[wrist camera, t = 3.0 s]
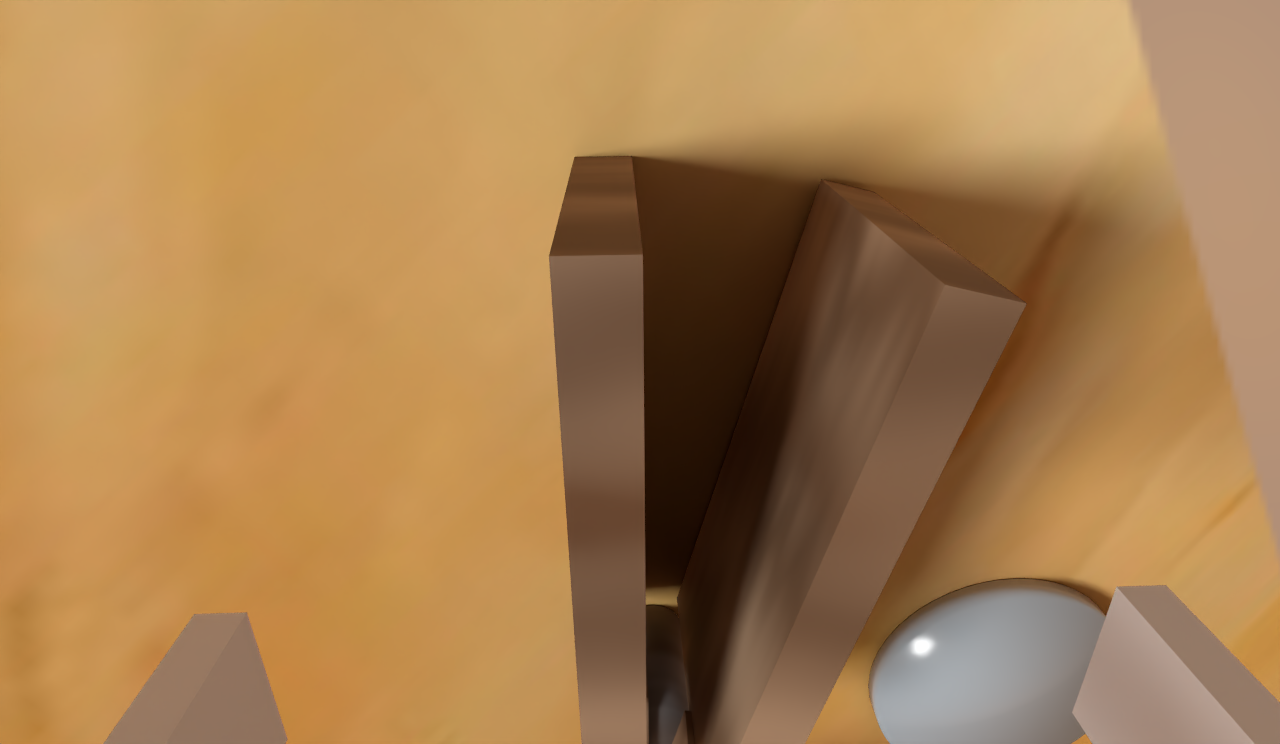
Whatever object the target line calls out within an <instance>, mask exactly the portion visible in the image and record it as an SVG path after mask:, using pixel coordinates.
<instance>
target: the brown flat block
mask: <svg viewBox="0 0 1280 744" xmlns="http://www.w3.org/2000/svg"><path fill="white" fill-rule="evenodd" d="M549 262H550V277H551V292H552V307H553V322H554V337H555V352H556V367H557V381H558V396H559V411H560V426H561V441H562V456H563V471H564V486H565V500H566V515H567V530H568V545H569V560H570V575H571V590H572V605H573V620H574V634H575V649H576V664H577V679H578V694H579V709H580V724H581V739H582V744H672V742H673V740H674V737H675V735H676V732H677V729H678V727H679V724H680V722H681V719H682V716H683V714H684V711H685V710H687V711H689V707H688V697H687V688H686V678H685V669H684V659H683V650H682V641H681V631H680V622H679V617H678V616H677V615H676V613H674V612H673V611H672V610H670V609H668V608H665V607H662V606H657V605H647V606H646V598H645V466H644V335H643V251H642V242H641V234H640V225H639V216H638V207H637V198H636V189H635V181H634V172H633V163H632V156H614V157H574V161H573V165H572V169H571V173H570V177H569V181H568V185H567V189H566V192H565V196H564V200H563V204H562V208H561V212H560V216H559V220H558V224H557V227H556V231H555V235H554V239H553V243H552V247H551V251H550V255H549Z"/></svg>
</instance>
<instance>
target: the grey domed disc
mask: <svg viewBox="0 0 1280 744" xmlns="http://www.w3.org/2000/svg"><path fill="white" fill-rule="evenodd" d="M1105 618H1106V616H1105V614H1104V613H1103V612H1102V611H1101V609H1100V608H1099V607H1098V606H1097V605H1096V604H1095V603H1094V602H1093V601H1092V600H1090V599H1089V598H1088V597H1087V596H1085V595H1083V594H1082V593H1080V592H1078V591H1077V590H1074V589H1072V588H1070V587H1067V586H1065V585H1062V584H1058V583H1054V582H1050V581H1044V580H1036V579H1005V580H996V581H990V582H985V583H980V584H976V585H973V586H969V587H965V588H963V589H960V590H957V591H955V592H952V593H949V594H947V595H945V596H943V597H941V598H939V599H937V600H934V601H932V602H931V603H929V604H928V605H926V606H924V607H923V608H921V609H919V610H918V611H916V612H915V613H914V614H912V615H911V616H910V617H908V618H907V619H906V620H905V621H904V622H903V623H901V624H900V625H899V626H898V627H897V628H896V629H895V630H894V631H893V632H892V634H891V635H890V636H889V637H888V638H887V639H886V641H885V642H884V644H883V645H882V647H881V648H880V650H879V651H878V653H877V655H876V657H875V660H874V662H873V664H872V668H871V671H870V675H869V685H868V688H869V697H870V701H871V704H872V707H873V710H874V713H875V715H876V718H877V721H878V724H879V726H880V729H881V730H882V732H883V734H884V736H885V738H886V739H887V740H888V741H889V743H890V744H1071V743H1072V742H1074V741H1076V740H1077V739H1079V738H1080V737H1081V736H1083V735H1084V734H1085V732H1084V730H1083V729H1082V727H1081V726H1080V724H1079V722H1078V721H1077V719H1076V718H1075V716H1074V715H1073V713H1072V711H1073V708H1074V706H1075V703H1076V700H1077V697H1078V694H1079V691H1080V689H1081V686H1082V683H1083V680H1084V677H1085V674H1086V672H1087V669H1088V666H1089V663H1090V660H1091V658H1092V655H1093V652H1094V649H1095V646H1096V643H1097V641H1098V638H1099V635H1100V632H1101V629H1102V627H1103V624H1104V621H1105Z"/></svg>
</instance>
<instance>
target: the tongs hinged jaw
mask: <svg viewBox="0 0 1280 744" xmlns="http://www.w3.org/2000/svg"><path fill="white" fill-rule="evenodd" d="M1026 304H1027V303H1025V302H1024V301H1023V300H1021V299H1020V298H1018V297H1017V296H1016V295H1014V294H1013V293H1012V292H1010V291H1009V290H1008V289H1006V288H1005V287H1003V286H1002V285H1001V284H999V283H998V282H997V281H995V280H994V279H992V278H991V277H990V276H988V275H987V274H986V273H984V272H983V271H981V270H980V269H979V268H977V267H976V266H975V265H973V264H972V263H971V262H969V261H968V260H966V259H965V258H964V257H962V256H961V255H960V254H958V253H957V252H955V251H954V250H953V249H951V248H950V247H949V246H947V245H946V244H945V243H943V242H942V241H940V240H939V239H938V238H936V237H935V236H934V235H932V234H931V233H929V232H928V231H927V230H925V229H924V228H923V227H921V226H920V225H918V224H917V223H916V222H914V221H913V220H912V219H910V218H909V217H908V216H906V215H905V214H903V213H902V212H901V211H899V210H898V209H897V208H895V207H894V206H892V205H891V204H890V203H888V202H887V201H886V200H884V199H883V198H881V197H880V196H879V195H877V194H876V193H875V192H872V191H868V190H864V189H860V188H856V187H851V186H847V185H843V184H839V183H835V182H831V181H827V180H823V179H821V181H820V184H819V187H818V190H817V193H816V196H815V199H814V202H813V205H812V207H811V210H810V213H809V216H808V219H807V222H806V225H805V228H804V231H803V234H802V236H801V239H800V242H799V245H798V248H797V251H796V254H795V257H794V260H793V263H792V265H791V268H790V271H789V274H788V277H787V280H786V283H785V286H784V289H783V292H782V295H781V297H780V300H779V303H778V306H777V309H776V312H775V315H774V318H773V321H772V324H771V326H770V329H769V332H768V335H767V338H766V341H765V344H764V347H763V350H762V353H761V355H760V358H759V361H758V364H757V367H756V370H755V373H754V376H753V379H752V382H751V385H750V387H749V390H748V393H747V396H746V399H745V402H744V405H743V408H742V411H741V414H740V416H739V419H738V422H737V425H736V428H735V431H734V434H733V437H732V440H731V443H730V446H729V448H728V451H727V454H726V457H725V460H724V463H723V466H722V469H721V472H720V475H719V477H718V480H717V483H716V486H715V489H714V492H713V495H712V498H711V501H710V504H709V506H708V509H707V512H706V515H705V518H704V521H703V524H702V527H701V530H700V533H699V536H698V538H697V541H696V544H695V547H694V550H693V553H692V556H691V559H690V562H689V565H688V567H687V570H686V573H685V576H684V579H683V582H682V585H681V588H680V591H679V594H678V597H677V603H678V612H679V622H680V631H681V641H682V650H683V659H684V669H685V678H686V688H687V697H688V707H689V711H687V710H685V711H684V714H683V716H682V719H681V722H680V724H679V727H678V729H677V732H676V735H675V737H674V740H673V742H672V744H805V743H806V741H807V739H808V737H809V735H810V733H811V731H812V729H813V727H814V725H815V723H816V721H817V719H818V717H819V715H820V713H821V711H822V709H823V707H824V705H825V703H826V701H827V699H828V697H829V695H830V693H831V691H832V689H833V687H834V685H835V683H836V681H837V679H838V677H839V675H840V673H841V671H842V669H843V667H844V665H845V663H846V661H847V659H848V657H849V655H850V653H851V651H852V649H853V647H854V645H855V643H856V641H857V639H858V637H859V635H860V633H861V631H862V630H863V628H864V626H865V624H866V622H867V620H868V618H869V616H870V614H871V612H872V610H873V608H874V606H875V604H876V602H877V600H878V598H879V596H880V594H881V592H882V590H883V588H884V586H885V584H886V582H887V580H888V578H889V576H890V574H891V572H892V570H893V568H894V566H895V564H896V562H897V560H898V558H899V556H900V554H901V552H902V550H903V548H904V546H905V544H906V542H907V540H908V538H909V536H910V534H911V532H912V530H913V528H914V526H915V524H916V522H917V520H918V518H919V516H920V514H921V512H922V510H923V508H924V507H925V505H926V503H927V501H928V499H929V497H930V495H931V493H932V491H933V489H934V487H935V485H936V483H937V481H938V479H939V477H940V475H941V473H942V471H943V469H944V467H945V465H946V463H947V461H948V459H949V457H950V455H951V453H952V451H953V449H954V447H955V445H956V443H957V441H958V439H959V437H960V435H961V433H962V431H963V429H964V427H965V425H966V423H967V421H968V419H969V417H970V415H971V413H972V411H973V409H974V407H975V405H976V403H977V401H978V399H979V397H980V395H981V393H982V391H983V389H984V387H985V386H986V384H987V382H988V380H989V378H990V376H991V374H992V372H993V370H994V368H995V366H996V364H997V362H998V360H999V358H1000V356H1001V354H1002V352H1003V350H1004V348H1005V346H1006V344H1007V342H1008V340H1009V338H1010V336H1011V334H1012V332H1013V330H1014V328H1015V326H1016V324H1017V322H1018V320H1019V318H1020V316H1021V314H1022V312H1023V310H1024V308H1025V306H1026Z"/></svg>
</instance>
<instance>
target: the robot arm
mask: <svg viewBox="0 0 1280 744" xmlns="http://www.w3.org/2000/svg"><path fill="white" fill-rule="evenodd" d="M1072 713H1073V715H1074V716H1075V718H1076V719H1077V721H1078V722H1079V724H1080V726H1081V727H1082V729H1083V730H1084V732H1085V733H1086V735H1087V736H1088V738H1089V739H1090V741H1091V742H1092V744H1280V703H1279V702H1278V700H1277V699H1276V698H1275V697H1274V696H1273V695H1272V694H1271V693H1270V692H1269V691H1268V690H1267V689H1266V688H1265V687H1264V686H1263V685H1262V684H1261V683H1260V682H1259V681H1258V680H1257V679H1256V678H1255V677H1254V676H1253V675H1252V674H1251V673H1250V672H1249V671H1248V670H1247V668H1246V667H1245V666H1244V665H1243V664H1242V663H1241V662H1240V661H1239V660H1238V659H1237V658H1236V657H1235V656H1234V655H1233V654H1232V653H1231V652H1230V651H1229V650H1228V649H1227V648H1226V647H1225V646H1224V645H1223V644H1222V643H1221V642H1220V641H1219V640H1218V639H1217V638H1216V636H1215V635H1214V634H1213V633H1212V632H1211V631H1210V630H1209V629H1208V628H1207V627H1206V626H1205V625H1204V624H1203V623H1202V622H1201V621H1200V620H1199V619H1198V618H1197V617H1196V616H1195V615H1194V614H1193V613H1192V612H1191V611H1190V610H1189V609H1188V608H1187V607H1186V606H1185V604H1184V603H1183V602H1182V601H1181V600H1180V599H1179V598H1178V597H1177V596H1176V595H1175V594H1174V593H1173V592H1172V591H1171V590H1170V589H1169V588H1168V587H1167V586H1166V585H1157V586H1124V587H1116V590H1115V593H1114V595H1113V598H1112V601H1111V604H1110V607H1109V610H1108V612H1107V615H1106V618H1105V621H1104V624H1103V627H1102V629H1101V632H1100V635H1099V638H1098V641H1097V643H1096V646H1095V649H1094V652H1093V655H1092V658H1091V660H1090V663H1089V666H1088V669H1087V672H1086V674H1085V677H1084V680H1083V683H1082V686H1081V689H1080V691H1079V694H1078V697H1077V700H1076V703H1075V706H1074V708H1073V711H1072ZM286 741H287V736H286V733H285V730H284V727H283V724H282V721H281V718H280V715H279V712H278V708H277V705H276V702H275V699H274V696H273V693H272V690H271V687H270V684H269V680H268V677H267V674H266V671H265V668H264V665H263V662H262V659H261V656H260V652H259V649H258V646H257V643H256V640H255V637H254V634H253V631H252V628H251V624H250V621H249V618H248V615H247V613H216V614H194V615H193V617H192V618H191V620H190V621H189V623H188V624H187V625H186V627H185V628H184V630H183V631H182V632H181V634H180V635H179V637H178V638H177V640H176V641H175V642H174V644H173V645H172V647H171V648H170V650H169V651H168V652H167V654H166V655H165V657H164V658H163V660H162V661H161V662H160V664H159V665H158V667H157V668H156V670H155V671H154V672H153V674H152V675H151V677H150V678H149V679H148V681H147V682H146V684H145V685H144V687H143V688H142V689H141V691H140V692H139V694H138V695H137V697H136V698H135V699H134V701H133V702H132V704H131V705H130V707H129V708H128V709H127V711H126V712H125V714H124V715H123V716H122V718H121V719H120V721H119V722H118V724H117V725H116V726H115V728H114V729H113V731H112V732H111V734H110V735H109V736H108V738H107V739H106V741H105V742H104V744H285V743H286Z"/></svg>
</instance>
